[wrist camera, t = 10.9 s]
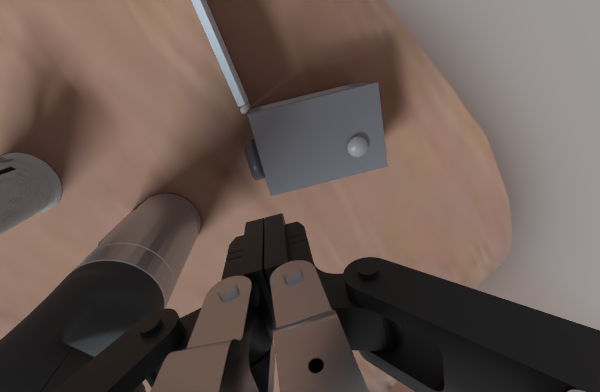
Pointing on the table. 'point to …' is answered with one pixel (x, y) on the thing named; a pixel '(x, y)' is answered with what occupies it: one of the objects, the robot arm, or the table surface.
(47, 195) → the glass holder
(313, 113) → the grey box with knob
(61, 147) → the table surface
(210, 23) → the side door
